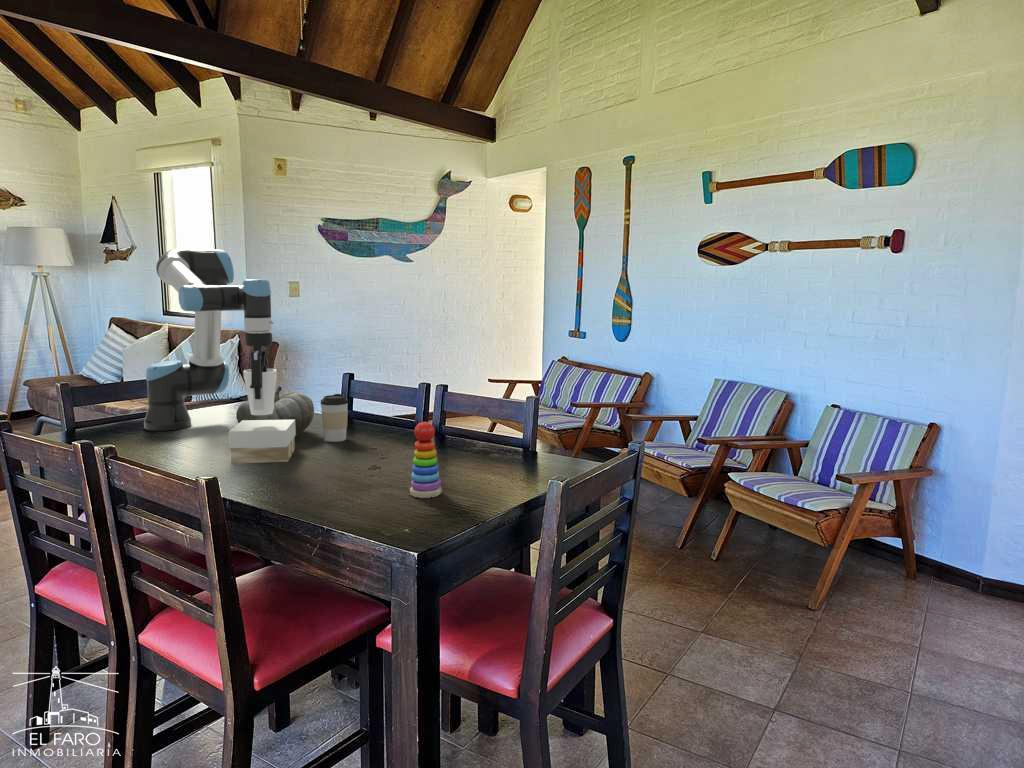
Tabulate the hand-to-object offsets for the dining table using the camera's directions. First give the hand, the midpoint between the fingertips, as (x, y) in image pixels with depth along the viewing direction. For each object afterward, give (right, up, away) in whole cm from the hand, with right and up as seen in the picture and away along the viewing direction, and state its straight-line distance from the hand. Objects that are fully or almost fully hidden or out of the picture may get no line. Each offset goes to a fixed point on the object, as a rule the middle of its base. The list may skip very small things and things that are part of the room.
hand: (261, 406), depth 207 cm
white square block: (0, -11, +2) cm, 11 cm away
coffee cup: (+16, -12, +25) cm, 32 cm away
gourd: (-5, -11, +29) cm, 31 cm away
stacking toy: (+53, -21, -33) cm, 66 cm away
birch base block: (0, -16, +3) cm, 16 cm away
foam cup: (0, -2, 0) cm, 2 cm away
